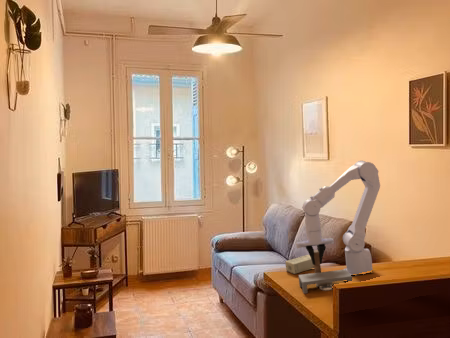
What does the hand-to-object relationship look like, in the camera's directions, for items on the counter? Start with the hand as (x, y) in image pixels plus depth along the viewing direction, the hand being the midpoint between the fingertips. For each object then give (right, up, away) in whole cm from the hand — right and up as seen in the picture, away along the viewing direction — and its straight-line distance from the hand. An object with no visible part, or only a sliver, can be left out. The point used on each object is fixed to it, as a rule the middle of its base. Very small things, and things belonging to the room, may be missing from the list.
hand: (317, 263), depth 171 cm
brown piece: (+1, -5, -4) cm, 7 cm away
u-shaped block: (+1, -6, -11) cm, 13 cm away
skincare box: (-10, -4, +8) cm, 13 cm away
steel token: (+1, -6, -13) cm, 14 cm away
